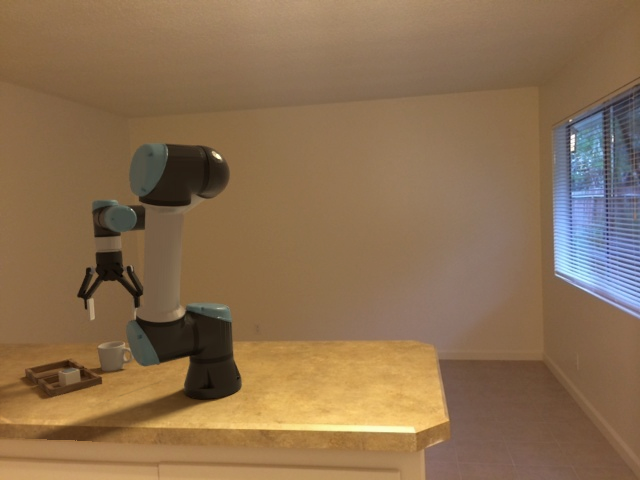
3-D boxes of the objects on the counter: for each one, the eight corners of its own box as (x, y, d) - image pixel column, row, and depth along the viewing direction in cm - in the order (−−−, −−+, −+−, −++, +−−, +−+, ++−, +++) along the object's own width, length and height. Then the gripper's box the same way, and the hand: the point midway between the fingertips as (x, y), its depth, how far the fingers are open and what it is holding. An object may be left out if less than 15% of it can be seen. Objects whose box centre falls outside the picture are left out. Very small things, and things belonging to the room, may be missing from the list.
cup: (140, 365, 157) (138, 340, 156) (127, 374, 149) (126, 348, 148) (107, 366, 158) (105, 341, 157) (93, 374, 150) (91, 348, 149)
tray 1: (85, 375, 150) (84, 366, 150) (37, 387, 141) (36, 378, 141) (71, 366, 159) (70, 358, 159) (25, 377, 150) (25, 369, 150)
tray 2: (102, 385, 140) (101, 377, 139) (51, 399, 131) (51, 390, 130) (86, 375, 149) (85, 367, 149) (38, 387, 140) (37, 379, 140)
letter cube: (80, 383, 140) (79, 369, 140) (66, 388, 137) (65, 373, 137) (73, 381, 143) (72, 367, 142) (59, 385, 139) (58, 371, 139)
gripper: (153, 248, 154) (157, 315, 156) (74, 250, 155) (79, 317, 156) (144, 250, 147) (149, 320, 148) (61, 253, 147) (67, 323, 149)
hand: (113, 319), depth 152 cm, fingers open, 13 cm apart
